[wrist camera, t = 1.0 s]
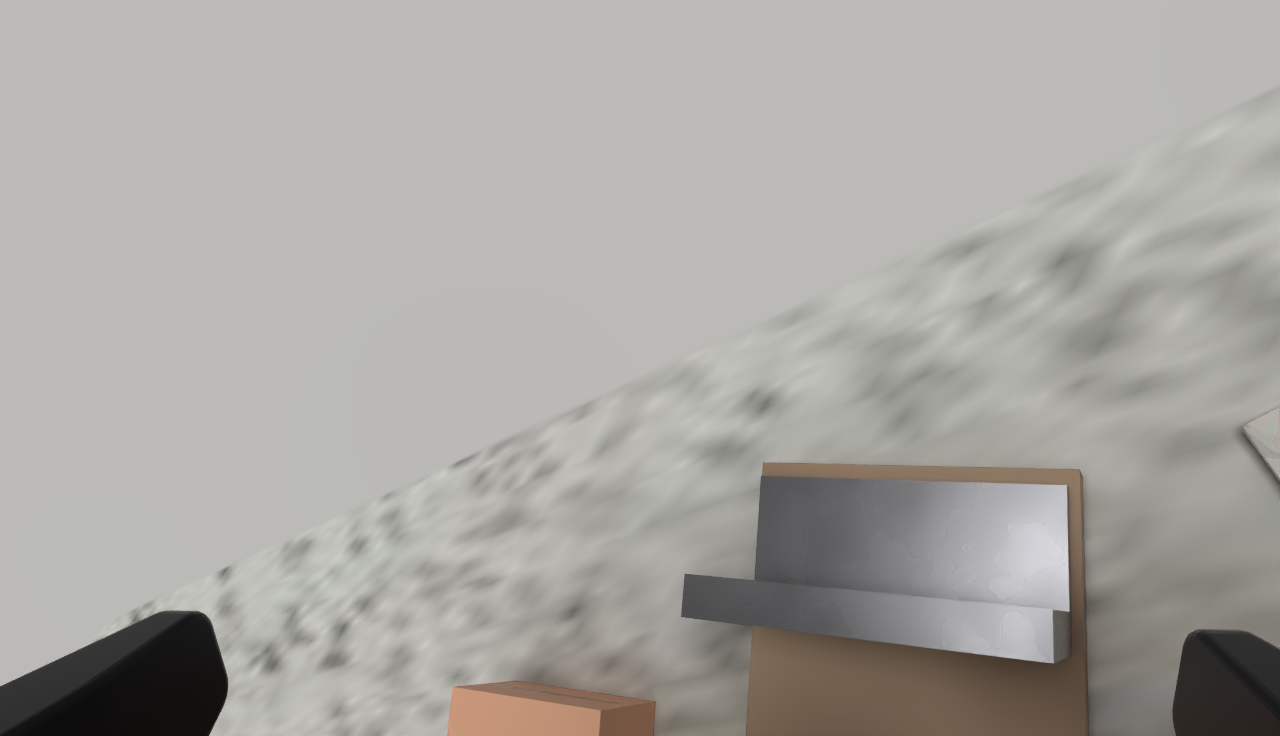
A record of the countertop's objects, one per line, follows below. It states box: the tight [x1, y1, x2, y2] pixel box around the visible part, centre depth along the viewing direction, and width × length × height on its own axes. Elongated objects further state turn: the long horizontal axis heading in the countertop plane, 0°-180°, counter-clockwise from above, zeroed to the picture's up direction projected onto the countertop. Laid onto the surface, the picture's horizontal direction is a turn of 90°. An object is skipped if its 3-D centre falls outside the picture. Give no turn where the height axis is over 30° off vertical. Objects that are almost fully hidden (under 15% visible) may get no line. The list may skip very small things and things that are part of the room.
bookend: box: [681, 476, 1072, 664], centre depth 21 cm, size 4×8×5 cm, turn 84°
